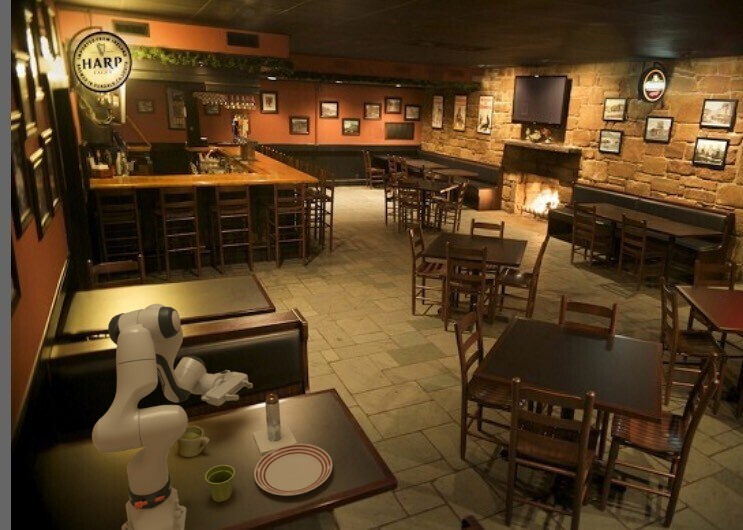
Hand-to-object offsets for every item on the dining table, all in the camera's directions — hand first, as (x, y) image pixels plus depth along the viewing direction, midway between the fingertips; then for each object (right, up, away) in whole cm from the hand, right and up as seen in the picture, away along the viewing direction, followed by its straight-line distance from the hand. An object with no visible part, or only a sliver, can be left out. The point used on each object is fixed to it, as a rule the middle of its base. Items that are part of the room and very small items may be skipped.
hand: (245, 391), depth 198 cm
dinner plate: (+22, -26, -17) cm, 37 cm away
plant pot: (-1, -28, -27) cm, 39 cm away
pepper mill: (+11, -18, +2) cm, 21 cm away
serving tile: (+11, -20, +2) cm, 23 cm away
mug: (-18, -22, -5) cm, 28 cm away
